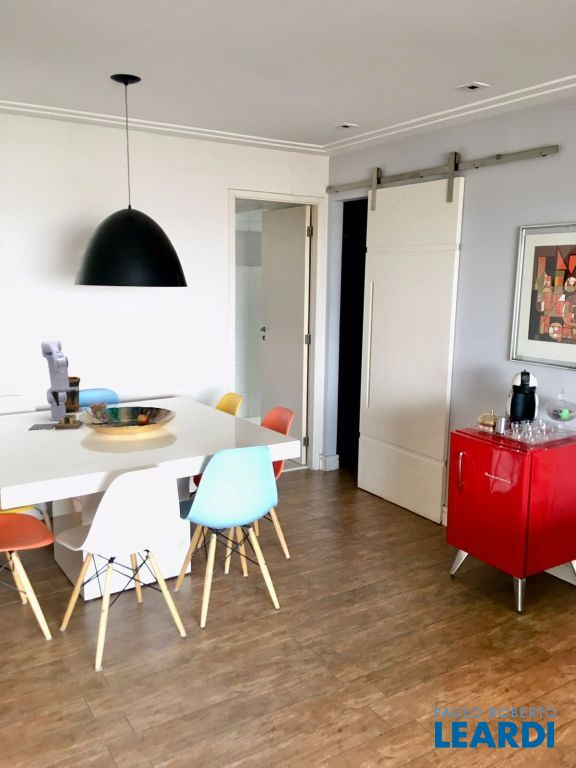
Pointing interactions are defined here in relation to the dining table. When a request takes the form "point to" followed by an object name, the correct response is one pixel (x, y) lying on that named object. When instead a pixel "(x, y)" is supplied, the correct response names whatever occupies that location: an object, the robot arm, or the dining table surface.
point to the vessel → (68, 404)
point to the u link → (72, 419)
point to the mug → (98, 411)
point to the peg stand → (68, 424)
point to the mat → (42, 426)
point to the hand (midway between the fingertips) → (65, 405)
